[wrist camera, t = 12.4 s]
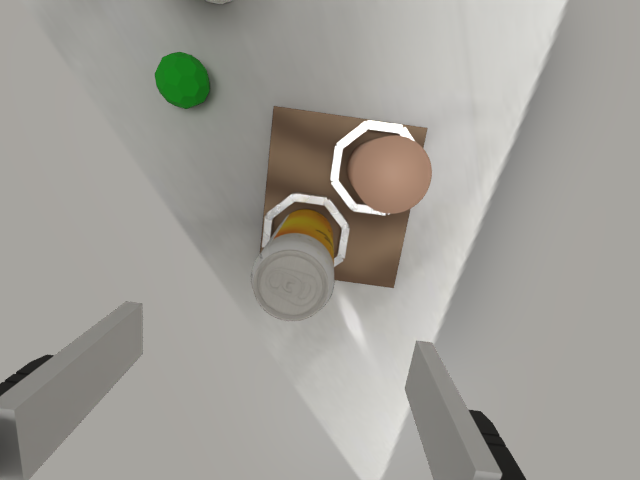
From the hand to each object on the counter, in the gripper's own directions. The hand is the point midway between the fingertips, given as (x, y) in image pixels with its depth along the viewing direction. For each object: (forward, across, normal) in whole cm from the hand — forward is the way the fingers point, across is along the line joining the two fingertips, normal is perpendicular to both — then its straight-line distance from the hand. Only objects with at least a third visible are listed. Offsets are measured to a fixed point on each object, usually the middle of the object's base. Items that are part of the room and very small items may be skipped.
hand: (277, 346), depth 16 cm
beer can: (+23, 0, 0) cm, 23 cm away
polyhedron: (+24, -14, +14) cm, 31 cm away
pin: (+22, +6, +8) cm, 25 cm away
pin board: (+24, +3, +4) cm, 24 cm away
